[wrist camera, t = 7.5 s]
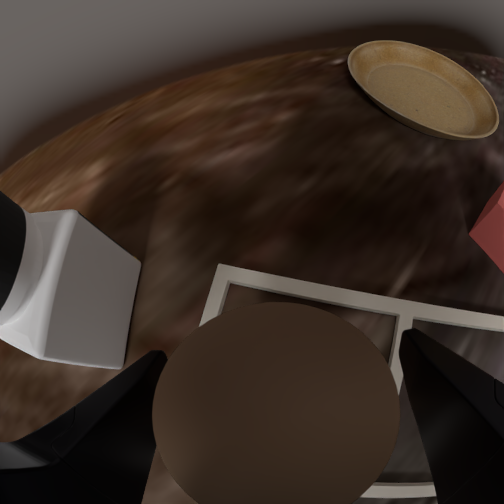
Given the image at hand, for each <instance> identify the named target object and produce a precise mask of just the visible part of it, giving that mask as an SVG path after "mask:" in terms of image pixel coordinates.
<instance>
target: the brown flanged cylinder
mask: <svg viewBox="0 0 504 504" xmlns="http://www.w3.org/2000/svg"><path fill="white" fill-rule="evenodd" d="M152 421H153V431H154V436H155V441H156V445H157V448H158V450H159V453H160V456H161V458H162V460H163V462H164V464H165V466H166V468H167V470H168V471H169V473H170V474H171V476H172V477H173V478H174V480H175V481H176V482H177V484H178V485H179V486H180V487H181V488H182V489H183V490H184V491H185V492H186V493H187V494H188V495H189V496H190V497H191V498H193V499H194V500H195V501H196V502H197V503H199V504H351V503H353V502H354V501H355V500H357V499H358V498H359V497H360V496H361V495H363V494H364V493H365V492H366V491H367V490H368V489H369V488H370V487H371V486H372V485H373V483H374V482H375V481H376V480H377V478H378V477H379V476H380V474H381V473H382V471H383V470H384V468H385V466H386V465H387V463H388V461H389V459H390V457H391V454H392V452H393V450H394V447H395V444H396V440H397V436H398V432H399V424H400V400H399V395H398V390H397V385H396V383H395V380H394V377H393V374H392V372H391V370H390V368H389V366H388V364H387V362H386V360H385V358H384V357H383V355H382V354H381V353H380V351H379V350H378V349H377V347H376V346H375V345H374V344H373V343H372V342H371V341H370V340H369V339H368V338H367V337H366V336H365V335H364V334H363V333H362V332H361V331H360V330H358V329H357V328H356V327H354V326H353V325H352V324H350V323H349V322H347V321H345V320H343V319H342V318H340V317H338V316H336V315H334V314H332V313H329V312H327V311H324V310H322V309H319V308H315V307H311V306H308V305H304V304H296V303H289V302H267V303H257V304H252V305H247V306H243V307H239V308H236V309H233V310H230V311H227V312H225V313H222V314H220V315H218V316H216V317H214V318H212V319H210V320H209V321H207V322H206V323H204V324H203V325H201V326H200V327H198V328H197V329H196V330H194V331H193V332H192V333H191V334H190V335H189V336H187V337H186V338H185V339H184V340H183V342H182V343H181V344H180V345H179V346H178V347H177V348H176V349H175V351H174V352H173V354H172V355H171V357H170V358H169V360H168V361H167V363H166V365H165V367H164V369H163V371H162V373H161V375H160V377H159V380H158V383H157V386H156V390H155V395H154V400H153V410H152Z"/></svg>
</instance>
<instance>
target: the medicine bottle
mask: <svg viewBox="0 0 504 504" xmlns="http://www.w3.org/2000/svg"><path fill="white" fill-rule="evenodd" d="M140 268H141V262H140V261H139V259H137V258H136V257H135V256H133V255H132V254H131V253H129V252H128V251H127V250H125V249H124V248H123V247H122V246H120V245H119V244H118V243H116V242H115V241H114V240H113V239H111V238H110V237H109V236H107V235H106V234H105V233H104V232H102V231H101V230H100V229H99V228H97V227H96V226H95V225H94V224H93V223H91V222H90V221H89V220H88V219H86V218H85V217H84V216H83V215H82V214H80V213H79V212H78V211H76V210H73V209H70V210H59V211H48V212H39V213H28V212H27V211H25V210H24V209H23V208H21V207H20V206H19V205H17V204H16V203H15V202H13V201H12V200H11V199H10V198H8V197H7V196H6V195H5V194H3V193H2V192H1V191H0V339H2V340H4V341H5V342H7V343H9V344H11V345H13V346H15V347H16V348H18V349H20V350H22V351H24V352H26V353H28V354H30V355H32V356H34V357H36V358H38V359H43V360H48V361H54V362H61V363H67V364H74V365H82V366H90V367H99V368H109V369H121V368H122V367H123V365H124V357H125V350H126V343H127V337H128V330H129V324H130V319H131V313H132V308H133V302H134V297H135V292H136V287H137V282H138V278H139V273H140Z"/></svg>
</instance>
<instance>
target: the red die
mask: <svg viewBox="0 0 504 504" xmlns="http://www.w3.org/2000/svg"><path fill="white" fill-rule="evenodd" d="M469 235H470V236H471V238H472V239H473V240H474V241H475V242H476V243H477V244H478V245H479V246H480V247H481V248H482V249H483V250H484V251H485V253H486V254H487V255H488V256H489V257H490V258H491V259H492V260H493V262H494V263H495V264H496V265H497V266H498V267H499V269H500V270H501V271H502V272H503V273H504V181H503V183H502V184H501V185H500V187H499V188H498V189H497V190H496V192H495V193H494V194H493V195H492V197H491V198H490V199H489V200H488V202H487V203H486V205H485V207H484V209H483V211H482V212H481V214H480V216H479V218H478V219H477V221H476V223H475V224H474V226H473V228H472V229H471V231H470V232H469Z"/></svg>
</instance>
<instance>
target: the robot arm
mask: <svg viewBox="0 0 504 504" xmlns="http://www.w3.org/2000/svg"><path fill="white" fill-rule="evenodd" d="M399 359H400V363H401V367H402V372H403V376H404V380H405V385H406V389H407V394H408V398H409V401H410V404H411V407H412V410H413V413H414V416H415V419H416V422H417V425H418V429H419V432H420V435H421V438H422V442H423V445H424V449H425V452H426V456H427V460H428V463H429V467H430V471H431V475H432V479H433V483H434V487H435V492H436V496H437V501H438V504H504V384H503V383H502V382H500V381H499V380H497V379H494V377H492V376H491V375H489V374H488V373H486V372H485V371H483V370H481V369H480V368H478V367H477V366H475V365H474V364H472V363H471V362H469V361H467V360H466V359H464V358H463V357H461V356H459V355H458V354H456V353H455V352H453V351H452V350H450V349H448V348H447V347H445V346H444V345H442V344H440V343H439V342H437V341H436V340H434V339H432V338H431V337H429V336H427V335H426V334H424V333H423V332H421V331H419V330H418V329H416V328H412V329H406V330H404V331H403V332H402V335H401V341H400V346H399ZM167 361H168V359H167V356H166V354H165V352H164V351H162V350H151V351H150V352H148V353H147V354H145V355H144V356H143V357H141V358H140V359H139V360H137V361H136V362H135V363H133V364H132V365H130V366H129V367H128V368H126V369H125V370H124V371H122V372H121V373H120V374H118V375H117V376H115V377H114V378H113V379H111V380H110V381H108V382H107V383H106V384H104V385H103V386H102V387H100V388H99V389H97V390H96V391H95V392H93V393H92V394H90V395H89V396H88V397H86V398H85V399H83V400H82V401H81V402H79V403H78V404H76V406H73V407H72V408H71V409H69V410H68V411H66V412H65V413H63V414H62V415H60V416H59V417H57V418H56V419H54V420H53V421H51V422H49V423H48V424H46V425H44V426H42V427H41V428H39V429H37V430H35V431H34V432H32V433H30V434H28V435H26V436H25V437H23V438H21V439H19V440H17V441H13V442H6V443H3V442H0V504H141V503H142V499H143V495H144V491H145V487H146V483H147V479H148V475H149V472H150V468H151V464H152V460H153V457H154V453H155V449H156V446H157V445H156V441H155V436H154V431H153V421H152V410H153V400H154V395H155V390H156V386H157V383H158V380H159V377H160V375H161V373H162V371H163V369H164V367H165V365H166V363H167Z"/></svg>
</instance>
